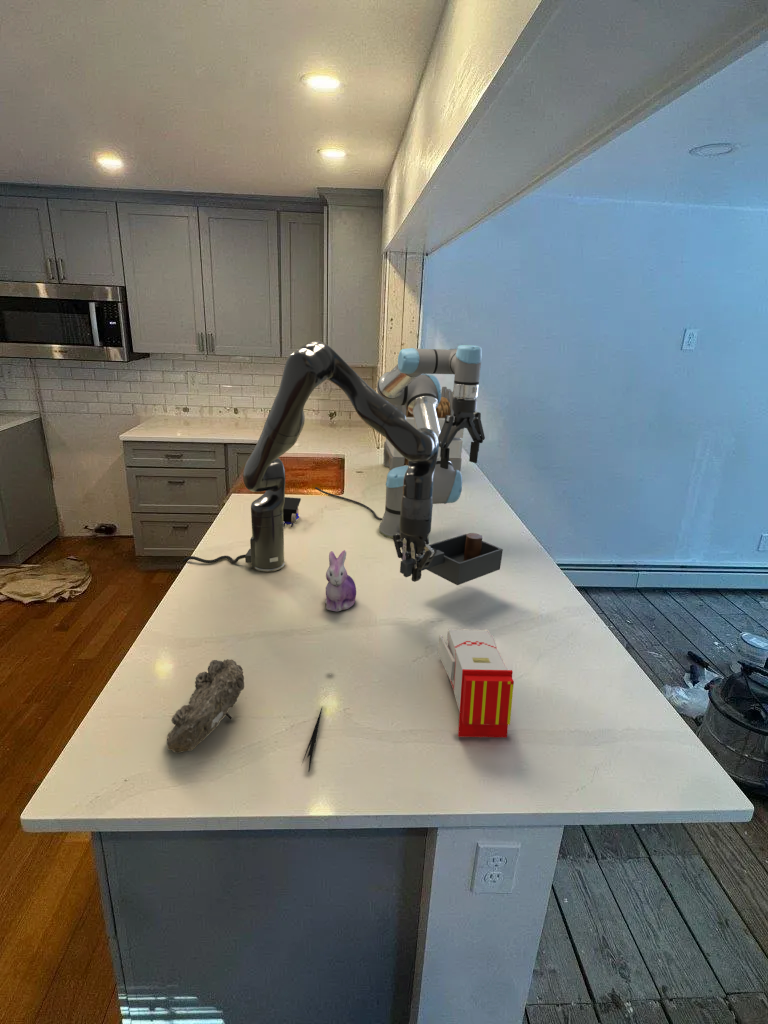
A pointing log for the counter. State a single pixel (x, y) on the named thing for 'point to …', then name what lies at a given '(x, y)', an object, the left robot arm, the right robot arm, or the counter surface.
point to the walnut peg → (472, 546)
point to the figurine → (339, 584)
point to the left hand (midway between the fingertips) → (411, 578)
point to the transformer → (444, 408)
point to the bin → (458, 561)
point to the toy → (478, 682)
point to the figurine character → (290, 510)
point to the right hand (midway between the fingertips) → (458, 465)
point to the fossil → (206, 705)
